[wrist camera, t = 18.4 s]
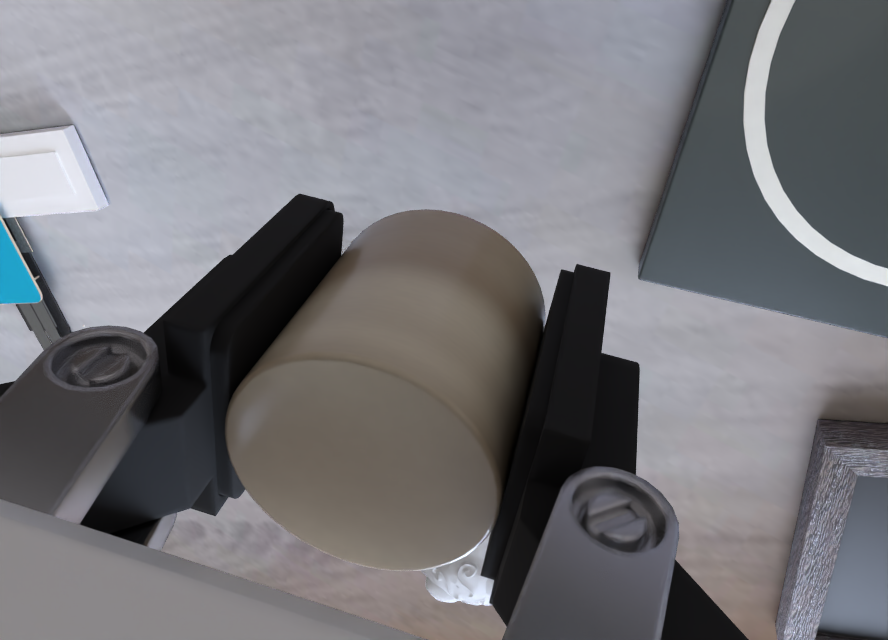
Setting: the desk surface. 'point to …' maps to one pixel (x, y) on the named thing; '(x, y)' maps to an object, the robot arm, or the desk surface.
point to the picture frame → (840, 539)
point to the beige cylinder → (395, 395)
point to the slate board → (785, 166)
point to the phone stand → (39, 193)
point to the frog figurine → (461, 579)
